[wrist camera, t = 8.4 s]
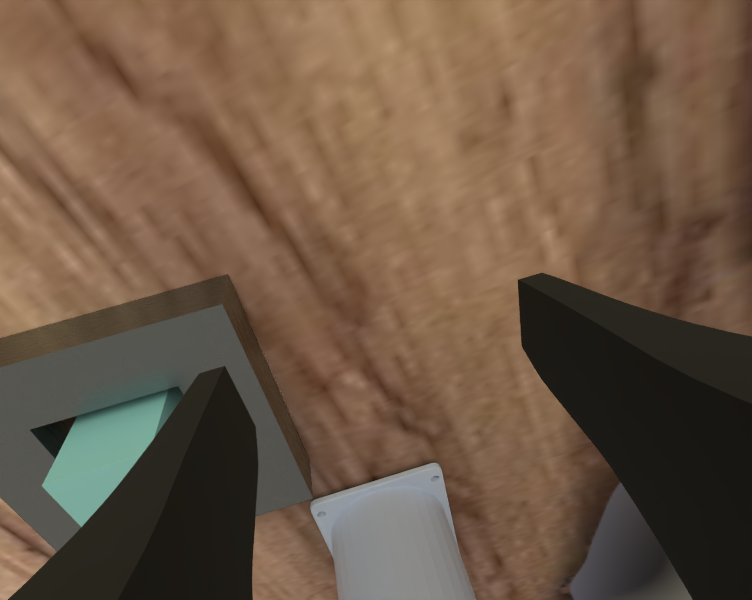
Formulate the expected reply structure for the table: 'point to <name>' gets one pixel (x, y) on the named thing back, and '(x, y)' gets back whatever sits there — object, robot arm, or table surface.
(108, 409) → the teal block
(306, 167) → the table surface
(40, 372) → the grey square-hole plate
